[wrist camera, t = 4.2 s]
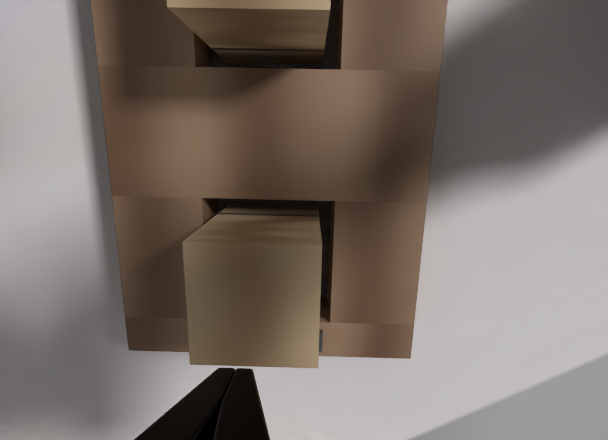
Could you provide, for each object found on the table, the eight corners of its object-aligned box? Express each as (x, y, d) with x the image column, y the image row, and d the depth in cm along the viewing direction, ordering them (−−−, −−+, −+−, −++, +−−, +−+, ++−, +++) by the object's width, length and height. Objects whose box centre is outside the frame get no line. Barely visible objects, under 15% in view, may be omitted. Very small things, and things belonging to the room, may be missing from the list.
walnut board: (437, -112, 17) (549, -334, 9) (397, 329, 22) (444, 432, 14) (113, -116, 17) (-56, -335, 9) (152, 322, 22) (67, 420, 15)
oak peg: (318, 204, 20) (322, 244, 13) (315, 286, 22) (318, 368, 14) (230, 202, 20) (181, 241, 13) (233, 284, 22) (189, 364, 14)
